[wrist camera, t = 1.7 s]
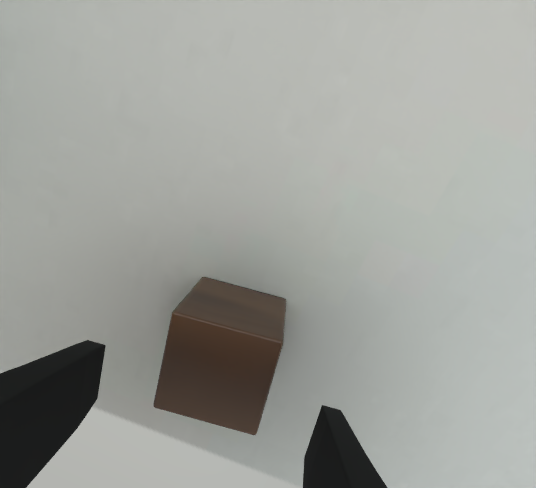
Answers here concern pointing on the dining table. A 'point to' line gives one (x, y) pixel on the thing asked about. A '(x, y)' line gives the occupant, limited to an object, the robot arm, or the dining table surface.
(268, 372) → the block
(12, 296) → the dining table surface
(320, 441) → the robot arm
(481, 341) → the dining table surface
